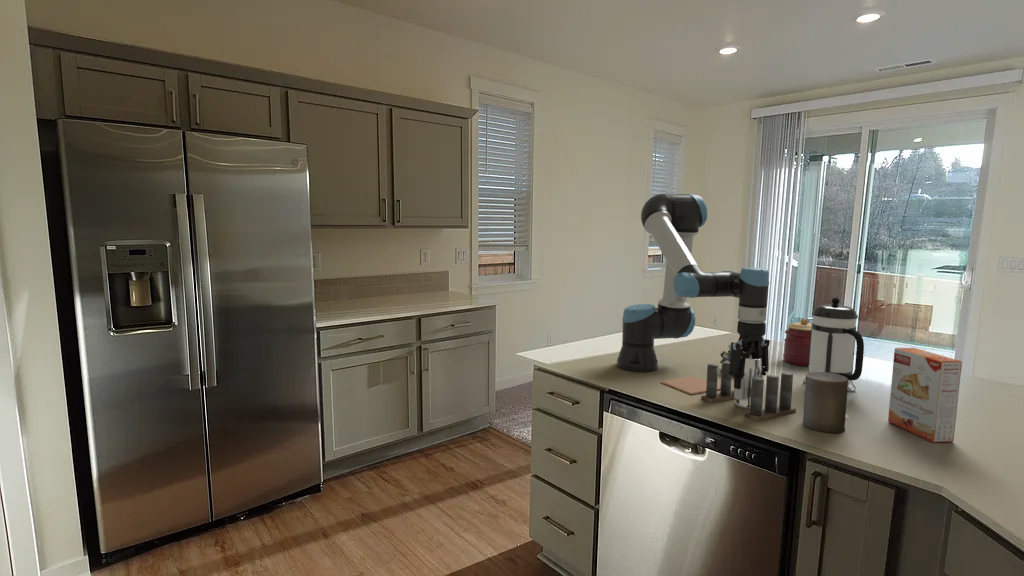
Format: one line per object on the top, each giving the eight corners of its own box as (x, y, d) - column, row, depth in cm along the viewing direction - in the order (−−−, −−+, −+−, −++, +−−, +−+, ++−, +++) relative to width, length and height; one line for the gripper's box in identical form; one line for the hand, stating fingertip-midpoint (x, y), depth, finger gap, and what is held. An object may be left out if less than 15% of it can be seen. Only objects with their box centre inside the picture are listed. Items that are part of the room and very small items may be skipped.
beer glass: (762, 410, 149) (765, 359, 147) (736, 408, 150) (739, 358, 148) (756, 402, 155) (759, 353, 154) (731, 400, 157) (734, 352, 155)
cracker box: (886, 422, 140) (893, 347, 138) (906, 421, 141) (914, 346, 138) (932, 443, 126) (940, 360, 124) (954, 442, 127) (963, 360, 124)
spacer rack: (701, 398, 158) (702, 364, 157) (738, 392, 165) (740, 358, 164) (756, 421, 140) (759, 381, 139) (795, 412, 147) (798, 374, 146)
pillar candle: (853, 431, 134) (858, 375, 132) (824, 435, 131) (828, 377, 129) (821, 418, 143) (825, 365, 141) (793, 421, 140) (797, 368, 139)
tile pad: (661, 382, 174) (661, 381, 174) (692, 377, 180) (692, 376, 180) (691, 395, 162) (691, 393, 162) (723, 389, 168) (723, 387, 168)
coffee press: (796, 387, 170) (803, 298, 166) (809, 377, 181) (815, 293, 178) (859, 399, 158) (867, 303, 155) (868, 388, 170) (876, 298, 166)
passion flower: (740, 388, 186) (738, 367, 179) (713, 376, 194) (709, 355, 187) (757, 368, 190) (755, 346, 183) (729, 357, 198) (726, 335, 191)
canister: (785, 356, 211) (788, 314, 209) (822, 361, 204) (825, 317, 201) (780, 363, 201) (783, 318, 198) (818, 368, 193) (822, 322, 191)
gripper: (738, 325, 142) (734, 406, 145) (786, 320, 151) (780, 396, 153) (717, 321, 149) (713, 398, 152) (763, 316, 157) (759, 389, 160)
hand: (747, 397), depth 152 cm, fingers closed on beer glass, 6 cm apart
